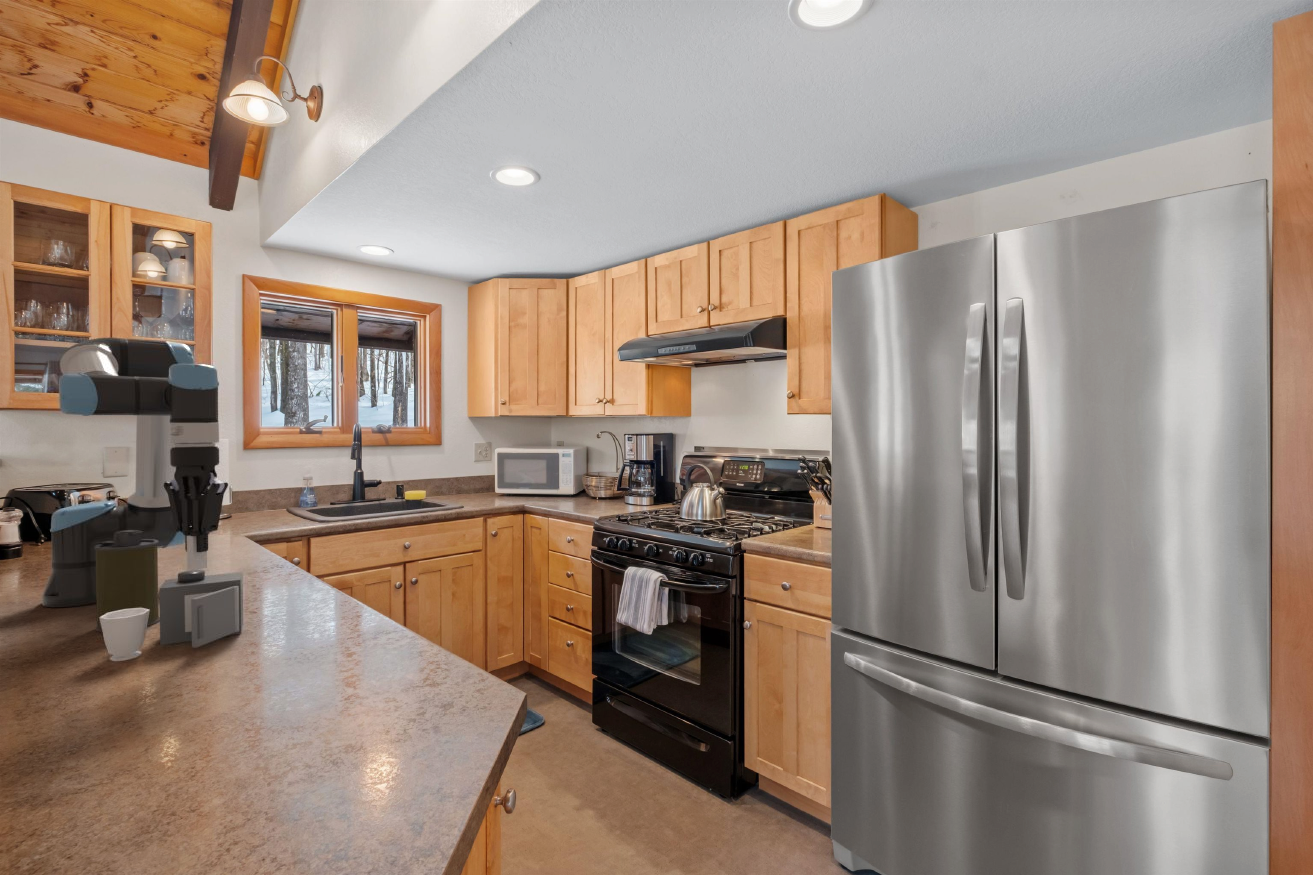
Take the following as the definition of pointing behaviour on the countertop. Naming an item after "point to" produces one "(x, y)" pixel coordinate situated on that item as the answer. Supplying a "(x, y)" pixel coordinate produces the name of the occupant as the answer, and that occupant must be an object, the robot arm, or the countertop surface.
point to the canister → (127, 575)
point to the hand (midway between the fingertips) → (197, 568)
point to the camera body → (178, 601)
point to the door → (214, 615)
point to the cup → (124, 632)
